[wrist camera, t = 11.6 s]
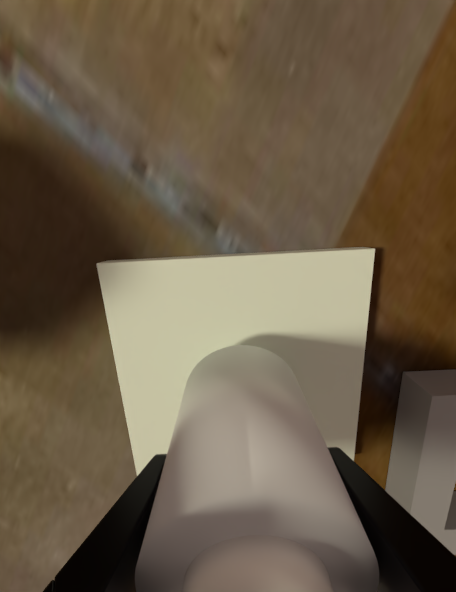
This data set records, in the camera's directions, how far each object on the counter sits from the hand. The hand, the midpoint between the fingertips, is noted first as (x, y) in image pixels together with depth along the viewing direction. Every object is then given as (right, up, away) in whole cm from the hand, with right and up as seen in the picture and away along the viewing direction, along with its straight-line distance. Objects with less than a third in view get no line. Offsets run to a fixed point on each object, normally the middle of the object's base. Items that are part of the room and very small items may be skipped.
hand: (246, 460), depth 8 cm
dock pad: (0, +1, +5) cm, 6 cm away
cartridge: (0, +1, +3) cm, 3 cm away
